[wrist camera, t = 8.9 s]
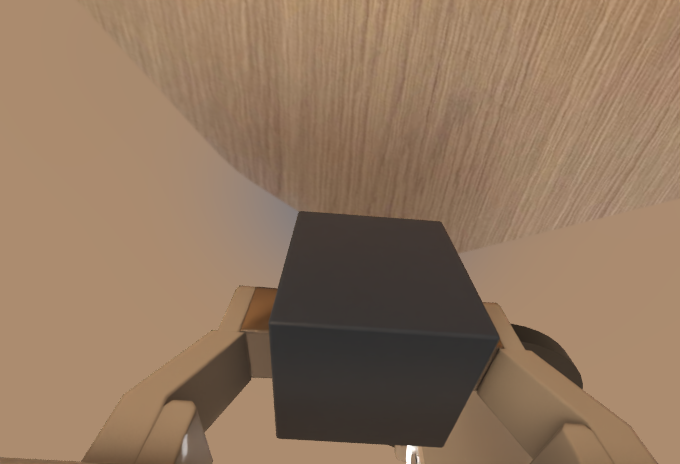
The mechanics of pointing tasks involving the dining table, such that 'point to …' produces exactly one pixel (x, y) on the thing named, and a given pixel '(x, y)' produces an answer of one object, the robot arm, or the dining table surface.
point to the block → (375, 332)
